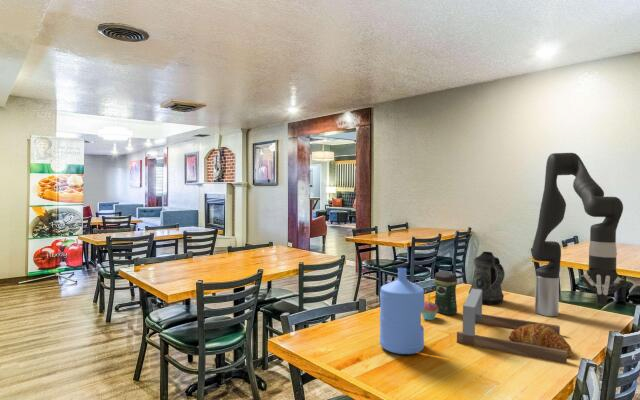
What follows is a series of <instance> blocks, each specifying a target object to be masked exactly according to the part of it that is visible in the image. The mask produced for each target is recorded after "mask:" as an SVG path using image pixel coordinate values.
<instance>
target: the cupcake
mask: <svg viewBox="0 0 640 400" xmlns="http://www.w3.org/2000/svg"><path fill="white" fill-rule="evenodd" d="M430 297H431V296H430V293H428V294H427V301H424V310H423V311H422V312H421V316H422V319H424V320H427V321H433V320H435V318H436V315H437V313H438V311H439V309H438V306H437V305H436V304H435V302H431V301H430Z"/></svg>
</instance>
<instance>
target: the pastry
mask: <svg viewBox="0 0 640 400" xmlns="http://www.w3.org/2000/svg"><path fill="white" fill-rule="evenodd" d="M540 323H541V322H538V324H527V325H525V326H520V327H519V329H513V330H511V332H510V336H509V337H508V339H509V340H510V341H513V342H519V343H525V344H530V345H536V346H542V347H548V348H553V349H559V350H565V351H567V358H569V357H572V356H573V351H572V347H571V346H570V344H569V343H568V341H566V339H565V338H564V337H563V336H561V334H560V335H558V333H557V332H555V331H554V330H553V329H551V328H549V327H548V326H547V325H545V324H546V323H545V324H540Z"/></svg>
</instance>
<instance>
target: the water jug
mask: <svg viewBox="0 0 640 400" xmlns="http://www.w3.org/2000/svg"><path fill="white" fill-rule="evenodd" d="M407 271H408V269H407V268H406V267H399V268H398V267H397V279H395V280H392V281H390V282H388V283H386V284H383V285H382V286H380V292H379V300H380V306H379V307H380V312H379V313H380V314H379V322H380V323H379V345H380V346H381V347H382V348H383V349H385V350H386V351H388V352H391V353H393V354H398V355H413V354H417V353H420V352H421V351H423V349H424V348H425V347H424V346H425V340H424V339H425V338H424V337H425V335H424V334H425V333H424V332H425V331H424V330H425V329H424V326H423V325H422V322H421V321H422V311H423V310H424V302H425V298H426V297H425V289H424V288H423V287H421V286H419V285H417V284H416V283H414V282H411V281H410V280H408V279H407V278H408V277H407V276H408V273H407Z"/></svg>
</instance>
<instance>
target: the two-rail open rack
mask: <svg viewBox="0 0 640 400" xmlns="http://www.w3.org/2000/svg"><path fill="white" fill-rule="evenodd" d="M476 323H477V324H483V325H490V326H496V327H503V328H508V329H513V330H515V329H519V327H520V326H525V325H527V324H538V323H540V324H545V325H547V326H548V327H549V328H551V329H553V330H554V331H555V332H557V333H558V335H560V336H561V331H560V330H561V327H560V325H556V324H550V323H543V322H536V321H532V320H531V321H530V320H524V319H523V320H522V319H517V318H509V317H502V316H497V315H489V314H483V304H482V290H480V289H472V290H471V292H470V294H469V293H468V296H467V297H466V299H465V302H464V304H462V332H460V331H457V333H456V343H458V344H463V345H469V346H473V347H479V348H485V349H489V350H494V351H500V352H505V353H510V354H516V355H517V354H518V355H521V356H527V357H531V358H537V359H543V360H548V361H554V362H558V363H564V364H567V363H568V357H567V351H565V350H559V349H553V348H548V347H542V346H536V345H530V344H525V343H519V342H516V341H513V340H508V339H507V340H506V339H502V338H501V339H500V338H495V337H490V336H483V335H478V334H476Z"/></svg>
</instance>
